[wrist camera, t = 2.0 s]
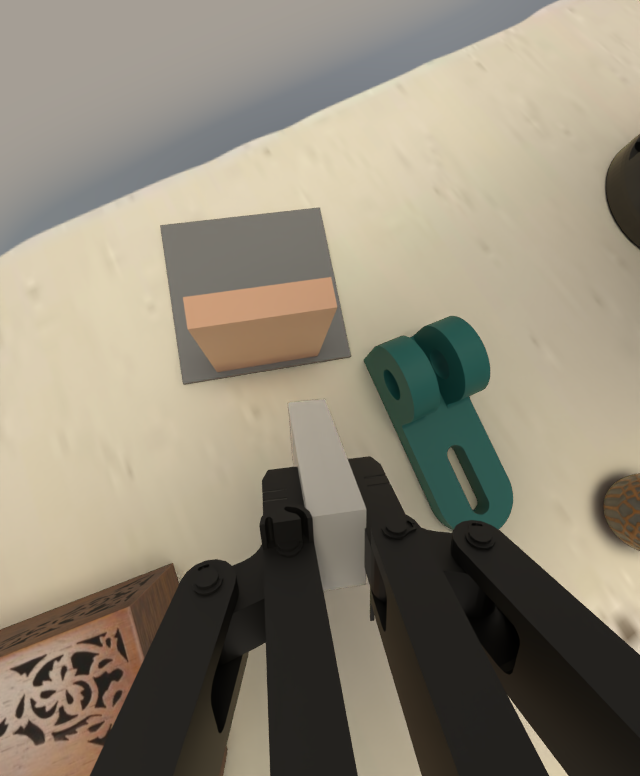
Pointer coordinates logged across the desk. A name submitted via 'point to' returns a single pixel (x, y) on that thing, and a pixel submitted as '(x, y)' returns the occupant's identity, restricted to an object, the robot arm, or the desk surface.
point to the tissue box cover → (76, 675)
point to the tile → (262, 323)
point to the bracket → (443, 417)
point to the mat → (246, 274)
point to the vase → (624, 509)
